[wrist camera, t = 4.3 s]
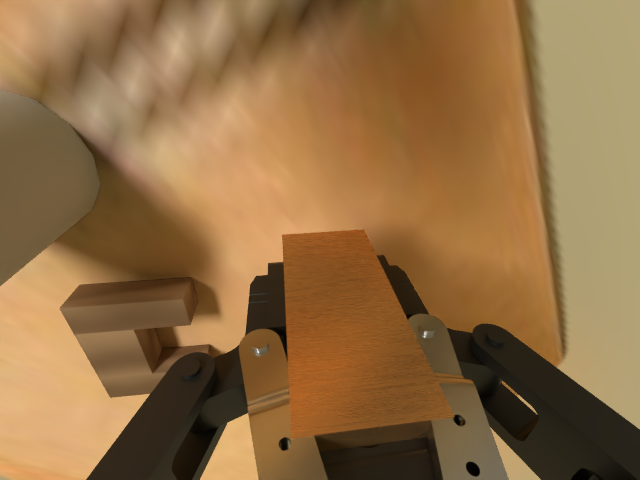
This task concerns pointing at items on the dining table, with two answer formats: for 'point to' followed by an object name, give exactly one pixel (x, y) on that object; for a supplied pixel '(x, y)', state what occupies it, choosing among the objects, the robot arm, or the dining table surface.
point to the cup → (39, 180)
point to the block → (352, 348)
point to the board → (131, 330)
